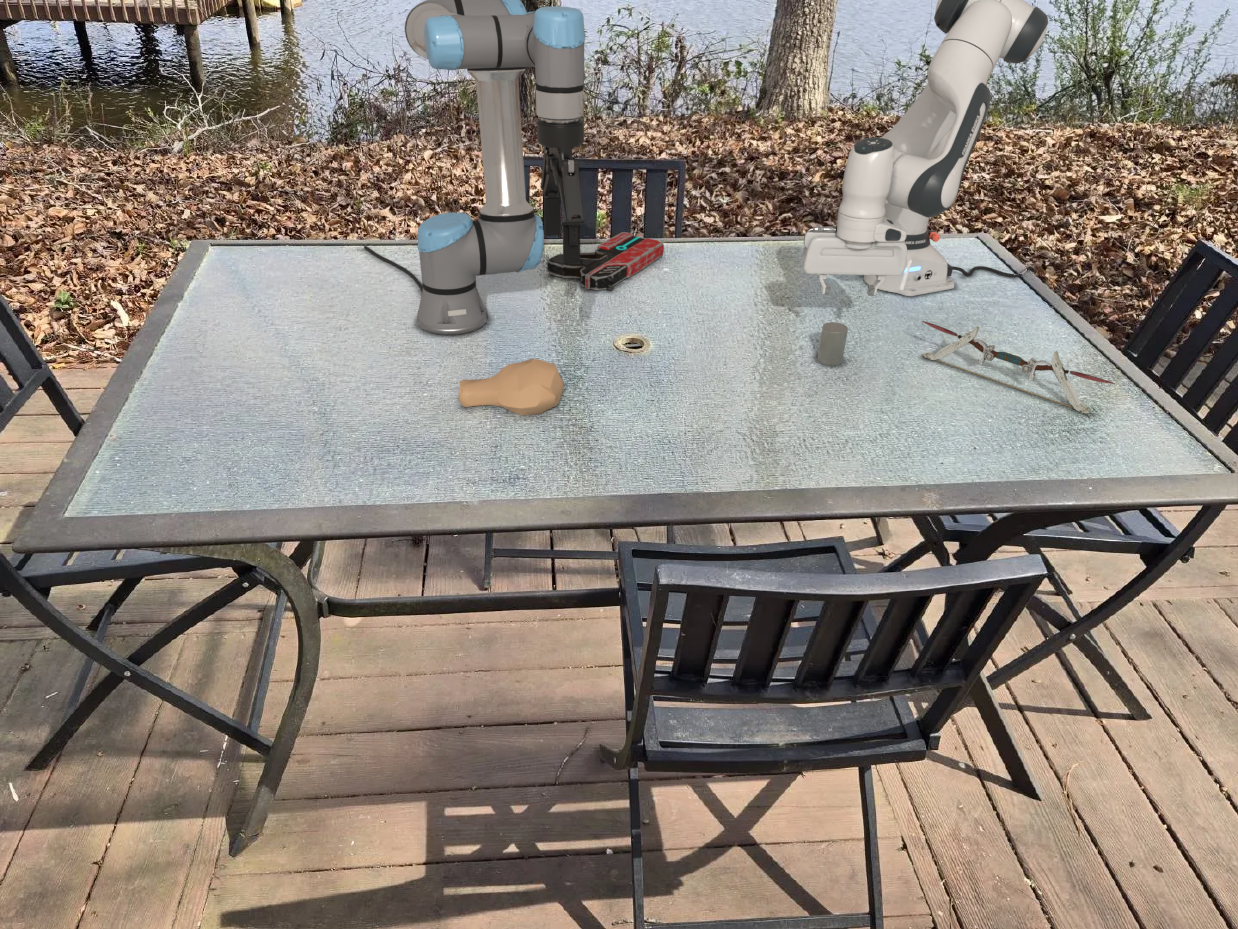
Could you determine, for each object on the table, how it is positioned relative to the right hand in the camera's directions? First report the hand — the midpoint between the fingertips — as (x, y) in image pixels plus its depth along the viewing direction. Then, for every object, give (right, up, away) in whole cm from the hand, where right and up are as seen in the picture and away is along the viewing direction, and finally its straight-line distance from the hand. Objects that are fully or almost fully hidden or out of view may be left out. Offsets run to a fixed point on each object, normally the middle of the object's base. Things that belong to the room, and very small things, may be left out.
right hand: (848, 294), depth 178 cm
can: (-2, -12, +8) cm, 15 cm away
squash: (-67, -24, -12) cm, 72 cm away
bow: (+32, -18, +1) cm, 37 cm away
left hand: (-56, +2, -28) cm, 63 cm away
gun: (-50, +16, +49) cm, 71 cm away
